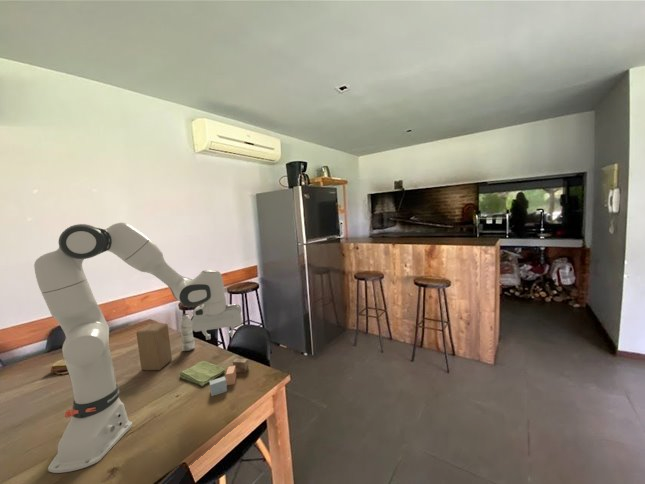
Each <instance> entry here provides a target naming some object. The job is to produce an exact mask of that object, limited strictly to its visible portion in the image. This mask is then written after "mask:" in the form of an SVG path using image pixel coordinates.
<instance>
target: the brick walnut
mask: <svg viewBox="0 0 645 484" xmlns="http://www.w3.org/2000/svg"><path fill="white" fill-rule="evenodd" d="M232 366H236V373H241V372H246V371H248V370H249V359H248V358H235V359H234V360H233V361H232ZM246 373H247V372H246Z"/></svg>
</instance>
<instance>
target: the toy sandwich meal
mask: <svg viewBox="0 0 645 484" xmlns="http://www.w3.org/2000/svg"><path fill="white" fill-rule="evenodd" d="M53 373H55V374H56V375H59V374H62V375H68V374H69V372H68V369H67V366H66V363H65V359H58V360H57V361H55V362H53V364H51V367H50V374H53ZM67 373H68V374H67Z"/></svg>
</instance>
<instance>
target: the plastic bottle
mask: <svg viewBox="0 0 645 484" xmlns="http://www.w3.org/2000/svg"><path fill="white" fill-rule="evenodd" d="M189 314H190V313H183V314H181V316H180V317H181V318H180V319H181V321H180V323H179V330H180V333H181V334H180V335H181V349H182V351H183V352H189V351H192V350H194V349H195V347H196V342H195V338H194V333H193V332H194V331H193V329H192V319H191V318H190V315H189Z"/></svg>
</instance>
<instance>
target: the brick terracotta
mask: <svg viewBox="0 0 645 484" xmlns="http://www.w3.org/2000/svg"><path fill="white" fill-rule="evenodd" d="M225 372H226V373H225V379H226V386H230V385H235V382H236V380H235V379H237V372H236V366H233V365H231V366H228V367H227V370H226V371H225Z"/></svg>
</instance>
